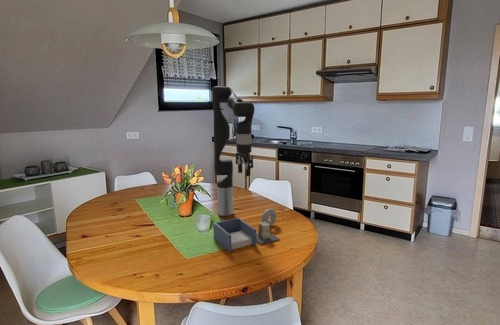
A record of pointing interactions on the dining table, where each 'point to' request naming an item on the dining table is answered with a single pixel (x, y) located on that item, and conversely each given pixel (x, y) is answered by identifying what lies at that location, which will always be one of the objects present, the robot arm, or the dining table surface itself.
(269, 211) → the donut
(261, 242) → the rubber mat
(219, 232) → the slot box
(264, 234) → the maple block
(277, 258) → the dining table surface
